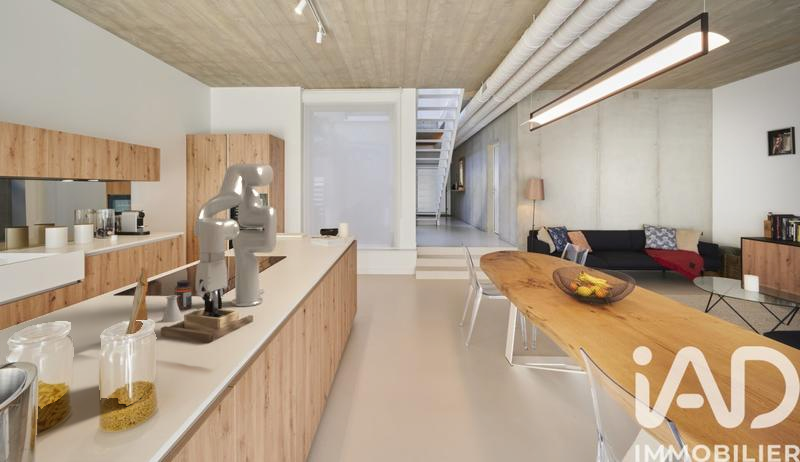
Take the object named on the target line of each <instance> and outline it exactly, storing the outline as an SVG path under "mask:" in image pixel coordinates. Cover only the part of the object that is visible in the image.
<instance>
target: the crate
mask: <svg viewBox="0 0 800 462" xmlns="http://www.w3.org/2000/svg"><path fill="white" fill-rule="evenodd" d="M239 313H240V312H239V310H231V309H223V308H222V309H218V316H219V317H217V318H216V317H209V312H205V306H204V307H202V308H199V309H197V310H193V311H191V312H188V313H186V314H184V315H183V321H184V329H190V330H197V331H205V332H214V331H216V330H219V329H221V328H223V327H225V326H227V325H229V324H231V323H234V322H236V321H238V320H240V318H239V316H240V314H239Z"/></svg>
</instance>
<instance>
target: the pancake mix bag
mask: <svg viewBox="0 0 800 462" xmlns="http://www.w3.org/2000/svg"><path fill="white" fill-rule="evenodd" d="M139 274H140V275H139V276H138V277H139V278H138V280H137V284H136V288H135V290H134V295H133V301H132V308H131V312H130V313H131V314H130V317H129V321H128V325H127V328H126V332H125V335H126V334H134V333H136V332H137V331H139V330H140V329H141V327H142V325H143V323H142V322H141V321H136V320H148V319H149V318H148V309H147V301H146V298H147V295H146V294H147V291H148V287H149V286H148V285H149V282H148V271H147V270H146V268H144V267H143V266H142V267H141V268H140V273H139Z"/></svg>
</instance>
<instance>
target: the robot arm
mask: <svg viewBox="0 0 800 462" xmlns="http://www.w3.org/2000/svg"><path fill="white" fill-rule="evenodd" d="M273 180H274V170H273V168H272V166H271V165H270V164H267V163H244V162H243V163H241V162H239V163H235V164H232V165H230V166H228V168H227V169H226V172H225V174H224V178H223V180H222V183H221V186H220V189H219V193H217V194H215V195H214V196H212V198H210V199H208V200H207V201H206V202H205V203H203V205H202V206H201V207H200V208H199V211H198V213H197V215H196V219H195V222H194V226H193V227H194V231H193V232H194V234H195V236H196V237H197V238H198V239H199V241H198V243H199V262H198V263H197V266H196V272H195V291H196V297H199V298H201V299H202V301H203V302H204V307H205V312H211V313H212V312H214V301H213V300H212V296H213V291H216V290H218V309H223V306H222V305H223V301H222V298H224V293H225V291H226V290H227V289H228V287H229V285H228V269H227V262H226V261H227V260H226V258H225V257H226V253H225V252H226V251H225V250H226V249H225V248H226V247H225V241H230V240H232V241H231V242H232V247H233V254H234V266H235V267H234V270H235V271H234V272H235V274H234V279H235V283H234V285H235V286H234V287H235V291H234V292H235V293H234V294H235V297H234V299H232V300H231V305H233V306H234V307H252V306H257V305H260V304H262V303H263V302H264V299H263V297H261V295H263V294H265V291H266V290H264V289H260V262H259V260H258V258H257V256H256V255H255V253H257V254H259V253H261V254H265V253H266V254H269V253H270V254H271V253H272V252H274V251H275V249H276V247H277V246H276V244H277V229H278V228H277V227H278V224H277V223H278V215H277V211H276V209H275V208H274V207H273V206H270V205H261V194H260V192H259V190H258V189H257V188H256V187H265V186H267V185H270V184H271V183H272V182H273ZM237 206H238V208H237V210H238V211H237V220H235V219H233V218H216V217H215V215H217V214H218V213H221V212H223V211H226V210H229V209H233V208H234V207H237ZM214 217H215V218H214ZM237 221H238V222H237ZM240 226H241V227H243V228H244V227H245V228H260V229H261V228H263V229H264V230H251V229H250V230H247V229H246V230H245V229H243V230H240ZM208 294H209V296H208Z"/></svg>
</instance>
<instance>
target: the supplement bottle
mask: <svg viewBox="0 0 800 462" xmlns="http://www.w3.org/2000/svg"><path fill="white" fill-rule="evenodd" d="M174 295H176V296H178V297H177V305H178V308H179V310H180V311H184V310H189V309H190V308H192V306H193V305H192V297H193V296H192V286H191V285H190V282H189V280H188V279H181V280H178V281H177V282H176V286H175V287H174Z"/></svg>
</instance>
